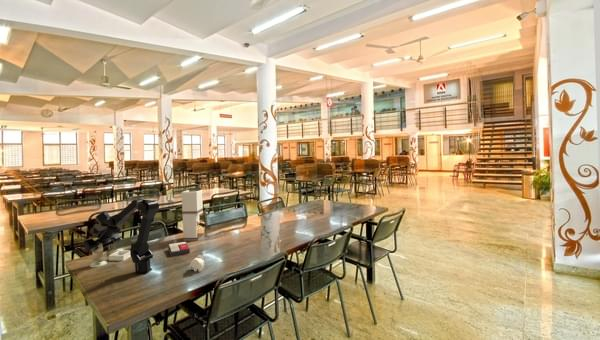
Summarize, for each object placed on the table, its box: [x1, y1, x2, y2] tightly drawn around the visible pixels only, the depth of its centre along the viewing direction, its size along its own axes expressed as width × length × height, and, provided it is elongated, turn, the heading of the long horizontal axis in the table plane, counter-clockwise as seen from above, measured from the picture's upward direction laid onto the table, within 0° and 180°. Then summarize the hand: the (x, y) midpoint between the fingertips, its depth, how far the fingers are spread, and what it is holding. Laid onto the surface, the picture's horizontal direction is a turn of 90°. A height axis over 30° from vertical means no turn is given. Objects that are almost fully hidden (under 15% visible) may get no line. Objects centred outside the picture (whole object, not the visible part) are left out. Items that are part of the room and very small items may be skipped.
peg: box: [91, 237, 105, 263], centre depth 168 cm, size 5×5×13 cm
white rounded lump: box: [187, 254, 206, 273], centre depth 159 cm, size 8×10×7 cm
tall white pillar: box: [181, 189, 205, 242], centre depth 216 cm, size 11×11×35 cm
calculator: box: [167, 241, 191, 258], centre depth 189 cm, size 11×4×15 cm
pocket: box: [108, 249, 131, 262], centre depth 179 cm, size 9×9×3 cm
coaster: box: [89, 260, 108, 268], centre depth 169 cm, size 8×8×1 cm
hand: (95, 249), depth 169 cm, fingers closed on peg, 5 cm apart
